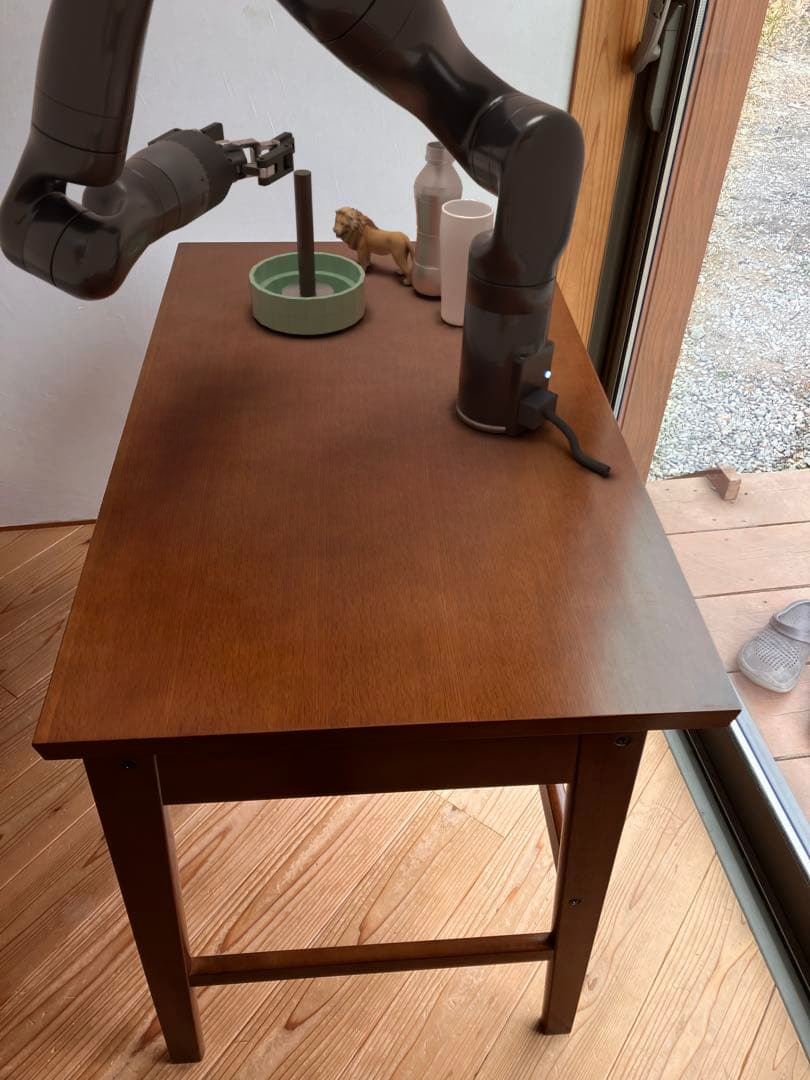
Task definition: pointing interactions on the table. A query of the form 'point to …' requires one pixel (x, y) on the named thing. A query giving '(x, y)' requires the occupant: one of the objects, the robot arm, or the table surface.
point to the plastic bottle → (432, 215)
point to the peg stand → (305, 241)
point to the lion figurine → (372, 240)
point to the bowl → (307, 311)
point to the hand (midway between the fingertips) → (254, 136)
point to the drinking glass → (459, 251)
